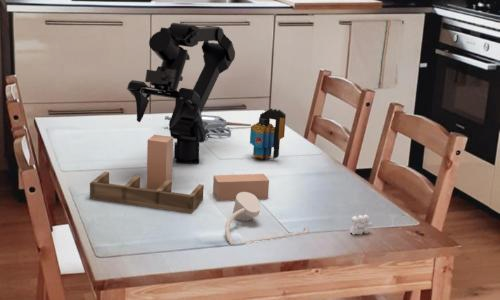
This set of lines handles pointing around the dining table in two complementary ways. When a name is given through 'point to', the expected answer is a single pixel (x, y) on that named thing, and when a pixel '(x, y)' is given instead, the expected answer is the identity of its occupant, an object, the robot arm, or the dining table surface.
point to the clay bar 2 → (240, 186)
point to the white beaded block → (360, 224)
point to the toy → (267, 134)
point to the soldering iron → (216, 125)
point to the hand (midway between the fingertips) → (154, 124)
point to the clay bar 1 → (159, 160)
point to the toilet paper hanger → (249, 215)
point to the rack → (145, 194)
